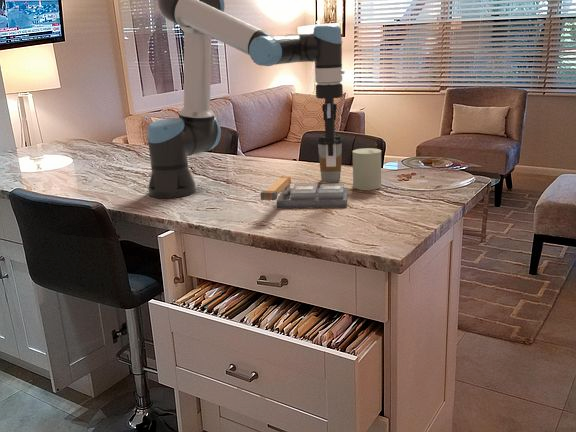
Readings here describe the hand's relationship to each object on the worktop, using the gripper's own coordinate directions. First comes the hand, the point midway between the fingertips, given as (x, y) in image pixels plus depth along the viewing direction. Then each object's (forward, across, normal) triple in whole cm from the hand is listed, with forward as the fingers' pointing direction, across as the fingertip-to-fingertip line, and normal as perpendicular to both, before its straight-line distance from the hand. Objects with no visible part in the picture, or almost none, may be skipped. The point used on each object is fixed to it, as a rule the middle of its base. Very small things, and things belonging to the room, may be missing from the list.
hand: (331, 166), depth 172 cm
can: (+11, +16, -10) cm, 22 cm away
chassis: (+10, 0, +6) cm, 12 cm away
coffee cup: (+11, +25, +2) cm, 27 cm away
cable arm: (+5, -8, +15) cm, 18 cm away
